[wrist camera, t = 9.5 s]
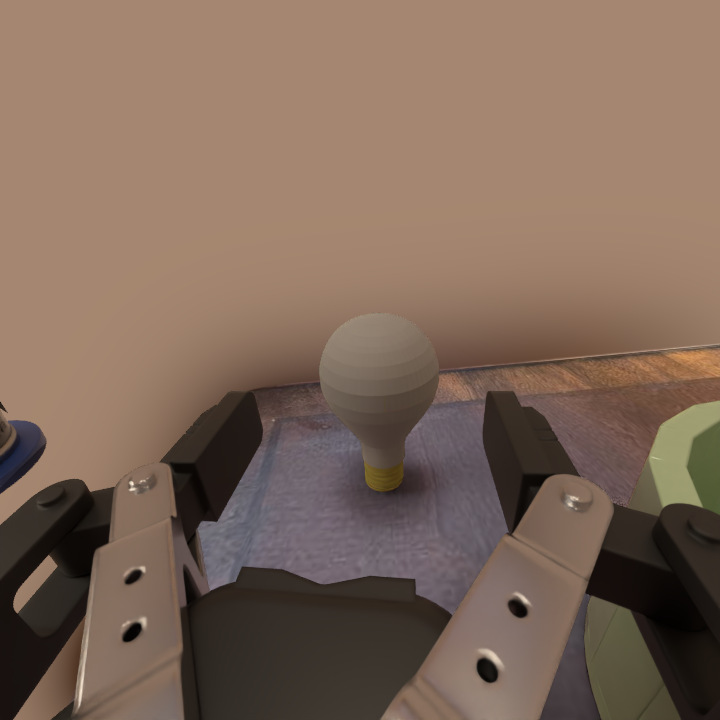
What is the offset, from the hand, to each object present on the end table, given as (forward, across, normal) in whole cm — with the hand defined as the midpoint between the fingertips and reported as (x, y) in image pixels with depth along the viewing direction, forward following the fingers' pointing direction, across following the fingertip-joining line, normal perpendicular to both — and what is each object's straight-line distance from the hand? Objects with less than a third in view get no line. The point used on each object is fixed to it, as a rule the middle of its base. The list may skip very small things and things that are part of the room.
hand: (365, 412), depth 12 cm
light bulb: (+4, 0, +8) cm, 9 cm away
